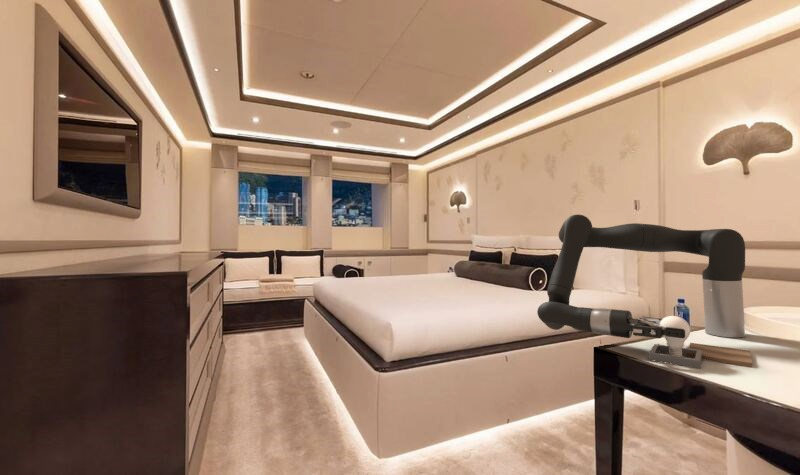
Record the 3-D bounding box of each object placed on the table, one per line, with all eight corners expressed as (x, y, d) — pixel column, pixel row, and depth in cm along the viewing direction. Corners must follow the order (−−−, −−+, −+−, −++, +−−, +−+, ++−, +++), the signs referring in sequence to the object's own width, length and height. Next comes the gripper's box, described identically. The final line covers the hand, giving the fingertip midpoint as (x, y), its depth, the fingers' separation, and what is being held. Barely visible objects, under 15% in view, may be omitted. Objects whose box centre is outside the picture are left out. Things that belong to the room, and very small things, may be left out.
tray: (655, 350, 97) (654, 343, 97) (702, 357, 90) (702, 350, 90) (649, 360, 89) (648, 353, 89) (700, 368, 82) (699, 361, 82)
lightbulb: (696, 359, 88) (694, 316, 89) (685, 364, 85) (683, 320, 85) (666, 353, 94) (665, 312, 94) (656, 358, 91) (654, 315, 91)
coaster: (690, 346, 99) (690, 342, 99) (750, 354, 91) (749, 350, 91) (686, 357, 90) (686, 353, 90) (752, 367, 82) (752, 363, 82)
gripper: (604, 313, 94) (683, 321, 83) (616, 305, 105) (688, 311, 93) (605, 341, 94) (684, 352, 83) (617, 330, 105) (689, 339, 93)
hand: (686, 330), depth 88 cm, fingers closed on lightbulb, 6 cm apart
